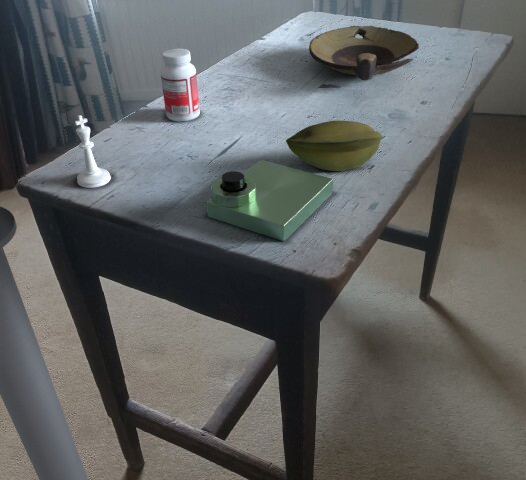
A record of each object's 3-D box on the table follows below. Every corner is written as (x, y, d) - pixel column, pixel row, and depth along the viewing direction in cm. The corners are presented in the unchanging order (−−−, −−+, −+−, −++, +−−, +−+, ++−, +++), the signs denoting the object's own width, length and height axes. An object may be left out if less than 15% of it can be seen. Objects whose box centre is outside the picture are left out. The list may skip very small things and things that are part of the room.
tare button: (236, 195, 77) (236, 183, 76) (218, 190, 78) (217, 178, 77) (249, 186, 79) (248, 174, 78) (230, 180, 80) (229, 169, 79)
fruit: (354, 187, 85) (358, 144, 81) (283, 168, 90) (283, 127, 86) (385, 156, 93) (390, 116, 89) (318, 140, 98) (319, 101, 94)
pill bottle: (188, 106, 110) (182, 44, 103) (206, 116, 106) (201, 53, 99) (159, 114, 107) (151, 51, 100) (176, 125, 103) (169, 60, 96)
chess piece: (117, 179, 88) (104, 115, 82) (88, 191, 86) (72, 126, 79) (99, 169, 91) (86, 106, 85) (71, 179, 89) (55, 115, 82)
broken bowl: (427, 57, 129) (433, 19, 124) (386, 105, 108) (391, 63, 104) (332, 44, 137) (334, 9, 132) (277, 87, 116) (277, 47, 111)
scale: (283, 241, 75) (284, 214, 72) (204, 215, 80) (202, 189, 78) (332, 193, 84) (334, 168, 82) (258, 173, 89) (258, 148, 87)
